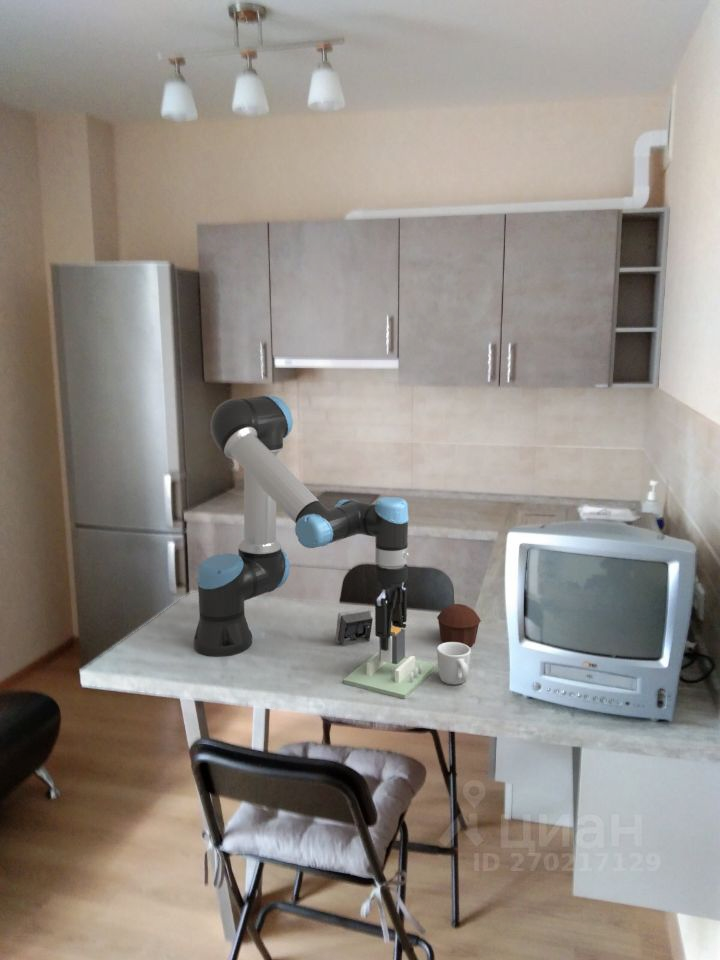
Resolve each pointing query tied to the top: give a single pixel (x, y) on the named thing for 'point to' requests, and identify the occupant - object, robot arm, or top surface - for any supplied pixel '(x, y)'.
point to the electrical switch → (354, 626)
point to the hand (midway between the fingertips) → (391, 657)
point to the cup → (453, 662)
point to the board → (390, 675)
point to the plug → (396, 644)
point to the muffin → (458, 624)
